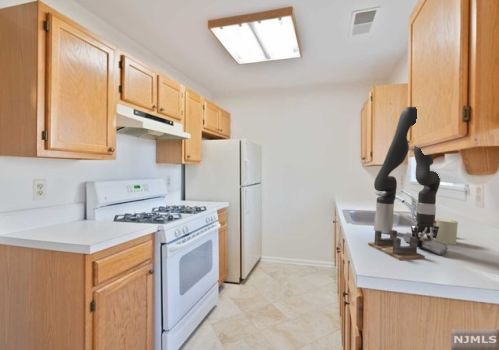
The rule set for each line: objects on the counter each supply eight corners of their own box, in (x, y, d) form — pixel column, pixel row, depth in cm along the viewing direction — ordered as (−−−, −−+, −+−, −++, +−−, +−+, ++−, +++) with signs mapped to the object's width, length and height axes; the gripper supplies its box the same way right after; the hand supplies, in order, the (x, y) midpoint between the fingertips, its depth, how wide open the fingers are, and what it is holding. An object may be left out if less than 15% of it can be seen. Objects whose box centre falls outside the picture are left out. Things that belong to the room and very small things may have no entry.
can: (457, 245, 134) (459, 222, 133) (435, 242, 139) (437, 219, 138) (455, 241, 142) (456, 219, 141) (434, 238, 147) (435, 216, 146)
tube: (402, 242, 137) (403, 232, 137) (411, 242, 138) (412, 232, 138) (437, 255, 118) (438, 244, 117) (447, 255, 119) (448, 244, 119)
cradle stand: (367, 245, 131) (368, 229, 130) (390, 244, 133) (391, 228, 133) (398, 260, 111) (399, 241, 111) (424, 258, 114) (425, 240, 113)
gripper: (431, 210, 132) (429, 244, 133) (407, 211, 129) (404, 245, 130) (445, 213, 125) (443, 249, 126) (419, 214, 122) (417, 250, 123)
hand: (423, 247), depth 128 cm, fingers closed on tube, 5 cm apart
